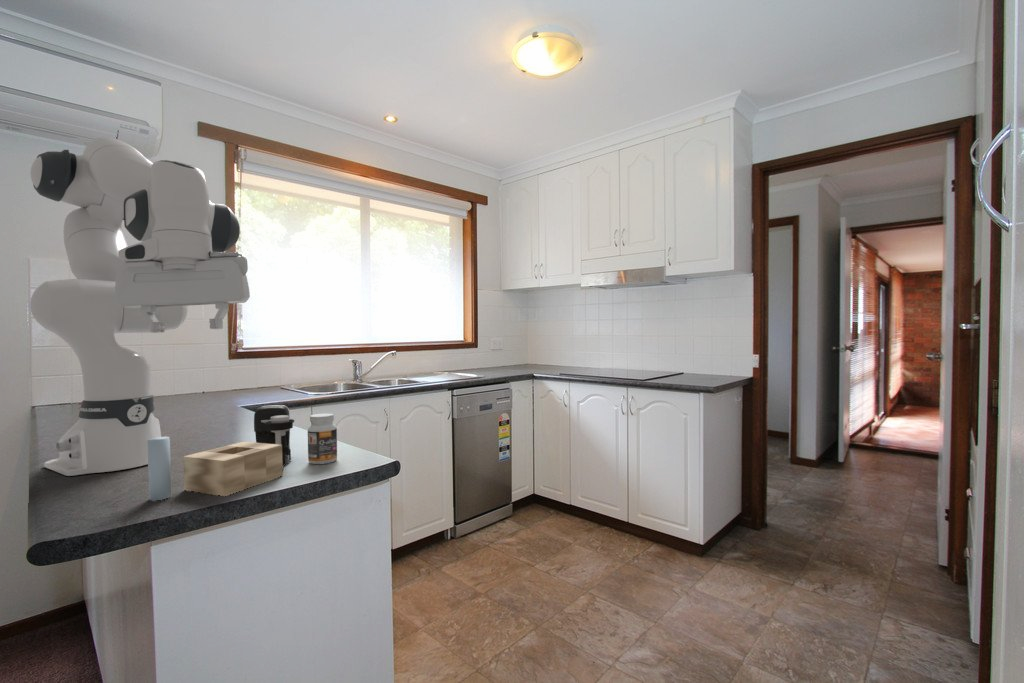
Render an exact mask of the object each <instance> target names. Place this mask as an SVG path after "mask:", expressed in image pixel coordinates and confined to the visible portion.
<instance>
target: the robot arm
mask: <svg viewBox="0 0 1024 683" xmlns="http://www.w3.org/2000/svg"><path fill="white" fill-rule="evenodd" d="M30 178H31V182H32V184H33V189H34V191H36V192H37V193H38V195H40V196H42V197H44V198H46V199H49V200H52V201H55V202H63V203H66V204H69V205H73V206H75V207H79V208H76V209H74V210H72V211H70V212H69V213H68V214H67V215H66V217H65V219H64V222H63V223H64V224H63V242H64V247H65V252H66V256H67V259H68V260H67V261H68V263H69V267H70V271H71V273H72V275H73V276H74V277H75V278H69V279H58V280H57V279H56V280H49V281H44V282H42V283H41V284H40V285H39V286H38V287H37V288H35V290H34V292H33V293H32V295H31V298H30V301H29V307H30V312H31V314H32V316H33V318H34V319H35V322H37V323H38V324H39V325H40V326H41V327H43V328H44V329H46V330H47V331H49V332H52V333H53V334H54V335H57V336H58V337H59V338H61V340H63V341H64V342H66V343H67V344H68V345H69V347H71V349H72V350H73V352H74V353H75V355H76V357H77V359H78V361H79V363H80V368H81V374H82V381H83V383H82V384H83V393H84V394H83V395H84V396H83V398H84V399H83V400H82V401H81V402H80V403H78V404H77V405H78V406H79V405H80V406H79V407H78V409H79V410H78V411H79V413H78V418H79V419H78V420H77V421H76V422H75V423H74V424H73V425H72V426H71V427H70V428H69V429H68V430H67V431H66V432H65V433H64V434H63V435H62V436H60V439H59V440H58V441H56V443H55V450H56V451H57V453H58V454H59V456H58V458H54V459H49V460H48V461H45V462H44V463H43V464H44V465H43V467H44V468H46V469H49V470H52V471H53V472H56V473H58V474H61V475H64V476H67V477H71V476H73V477H74V476H79V475H80V476H81V475H86V474H95V473H105V472H107V473H109V472H114V471H115V472H116V471H121V470H127V469H133V468H137V467H142V466H146V465H147V466H148V444H147V440H148V439H151V438H156V437H162V431H161V426H160V421H159V419H158V418H157V417H155V416H154V414H153V412H154V411H155V398H154V395H152V380H151V379H152V378H151V377H152V375H151V371H152V370H151V363H150V362H149V360H148V358H147V357H146V356H145V355H143V354H141V353H140V352H137V351H134V350H132V349H129V348H127V347H123V346H121V345H120V344H119V343H118V342H117V339H116V337H115V334H120V333H121V334H122V333H123V334H130V333H131V334H132V333H137V334H139V333H141V334H143V333H144V334H145V333H146V334H147V333H148V334H149V333H151V334H152V333H153V334H157V333H158V334H159V333H160V334H161V333H165V331H169V330H176V329H178V328H179V327H180V326H181V325H182V324H183V323H184V321H186V319H187V316H188V310H189V309H188V306H203V305H206V306H207V305H215V309H216V310H217V312H216V314H215V316H214V318H209V322H208V323H209V329H211V330H223V327H224V326H223V324H224V322H223V320H224V318H225V317H226V315H227V314H228V312H229V310H230V308H229V304H245V303H247V301H248V300H249V299H250V296H251V295H250V294H251V292H250V287H249V286H250V285H249V281H248V276H247V273H248V270H249V268H248V259H247V258H246V256H245V255H244V254H242V253H239V252H238V251H234V250H233V251H232V250H230V251H229V249H231V248H232V247H234V246H235V245H236V244H237V242H238V241H239V238H240V230H241V228H240V223H239V220H238V218H237V216H236V215H235V213H234V212H233V211H232V209H231V208H230V207H229V206H228V205H226V204H222V203H217V202H212V201H211V200H210V195H209V190H208V185H207V184H208V183H207V180H206V177H205V174H204V172H203V171H202V170H201V169H199V168H198V167H196V166H194V165H192V164H186V163H183V162H179V161H172V160H167V159H164V160H158V161H156V160H155V161H154V162H152V161H150V160H149V159H148V158H146V156H145V155H143V154H142V153H141V152H140V151H139V150H137V149H136V148H135V147H134V146H132V145H131V144H129V143H126V142H125V141H123V140H120V139H117V138H114V137H108V136H104V137H103V136H101V137H97V138H94V139H92V140H90V141H89V142H88V143H87V144H86V146H85V148H84V151H83V154H80V155H79V154H75V153H72V152H70V150H69V149H63V150H62V151H58V150H57V151H53V150H51V151H45V152H42V153H39V154H38V155H37V156H36V158H35V160H34V161H33V162H32V164H31V167H30ZM123 222H124V228H125V229H126V231H127V232H128V233H129V234H130V235H131V236H132V237H133V238H134V239H135V240H137V241H138V243H135V244H132V245H128V241H127V238H126V237H125V234H124V232H123V229H122V224H123Z"/></svg>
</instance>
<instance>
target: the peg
mask: <svg viewBox="0 0 1024 683" xmlns="http://www.w3.org/2000/svg"><path fill="white" fill-rule="evenodd" d="M147 444H148V464H147V467H148V469H147V471H148V497H149V498H148V499H149V500H152V501H151V502H157V501H156V500H161V499H165V500H167V499H166V498H168V499H170V498H172V475H171V473H172V471H171V470H172V469H171V468H172V467H171V466H172V465H171V439H170V436H161V437H156V438H151V439H148V440H147ZM169 497H170V498H169ZM161 501H162V500H161Z"/></svg>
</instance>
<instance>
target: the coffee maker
mask: <svg viewBox="0 0 1024 683" xmlns="http://www.w3.org/2000/svg"><path fill="white" fill-rule="evenodd" d="M290 413H291V412H290V409H289V407H288V406H286V405H283V404H279V405H277V404H275V405H274V404H273V405H263V406H260V407H258V408H257V409H256V411H255V412H254V413H253V414H254V415H253V432H254V433H255V443H266V444H275V442H276V440H275V433H274V432H271V431H270V430H268V425H266V422H268V421H270V420H271V417H272V416H278V415H289V418H290V419H291V414H290ZM286 441H287V445H289V449H291V442H290V441H291V429H290V430H289V431H286Z"/></svg>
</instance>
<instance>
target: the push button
mask: <svg viewBox="0 0 1024 683" xmlns="http://www.w3.org/2000/svg"><path fill="white" fill-rule="evenodd" d="M294 423H295V419H293V418H292V419H291V417H290V418H289V415H278V416H272V417H271V420H270V421H268V422H266V425H268V430H270V431H271V432H274V433H275V440H276V442H275V444H278V445H282V462H283V465H284V464H285V463H286V462H287V463H286V464H290V462H291V461H292V457H291V456H292V454H291V453H292V452H291V451H292V450H291V448H290V449H289V445H287V441H286V431H289V430H290V431H291V429H293V428H294V426H293V424H294ZM290 460H291V461H290ZM286 464H285V465H286ZM285 465H284V466H285Z"/></svg>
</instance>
